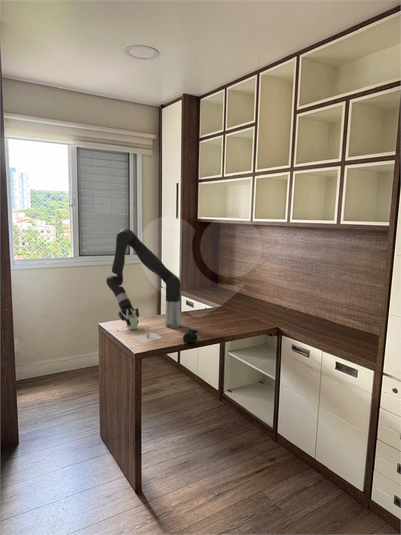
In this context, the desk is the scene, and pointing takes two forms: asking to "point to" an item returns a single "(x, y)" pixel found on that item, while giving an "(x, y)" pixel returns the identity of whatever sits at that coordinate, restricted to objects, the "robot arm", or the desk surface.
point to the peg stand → (147, 336)
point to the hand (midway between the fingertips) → (133, 324)
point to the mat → (122, 329)
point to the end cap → (190, 337)
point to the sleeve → (133, 322)
